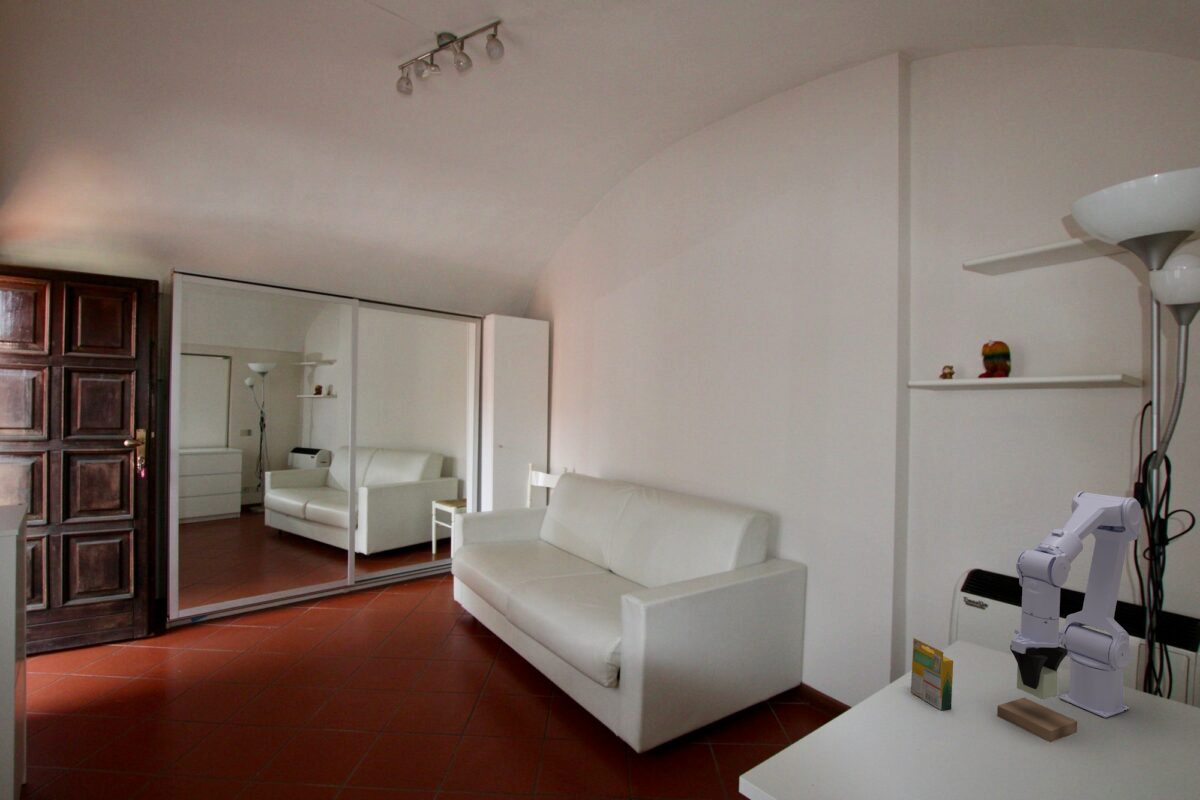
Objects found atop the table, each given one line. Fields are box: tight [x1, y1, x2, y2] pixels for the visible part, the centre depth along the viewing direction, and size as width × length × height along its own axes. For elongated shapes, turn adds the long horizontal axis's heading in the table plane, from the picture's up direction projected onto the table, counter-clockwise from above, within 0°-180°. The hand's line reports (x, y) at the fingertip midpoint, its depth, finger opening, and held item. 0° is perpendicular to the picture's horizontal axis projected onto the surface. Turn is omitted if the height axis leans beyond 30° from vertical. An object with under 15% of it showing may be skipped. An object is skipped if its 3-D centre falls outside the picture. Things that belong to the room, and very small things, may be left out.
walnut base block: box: [996, 697, 1078, 743], centre depth 106 cm, size 9×9×2 cm
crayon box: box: [910, 637, 954, 711], centre depth 113 cm, size 7×3×12 cm, turn 17°
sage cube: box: [1016, 665, 1058, 700], centre depth 106 cm, size 4×4×4 cm
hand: (1037, 684), depth 106 cm, fingers closed on sage cube, 4 cm apart
